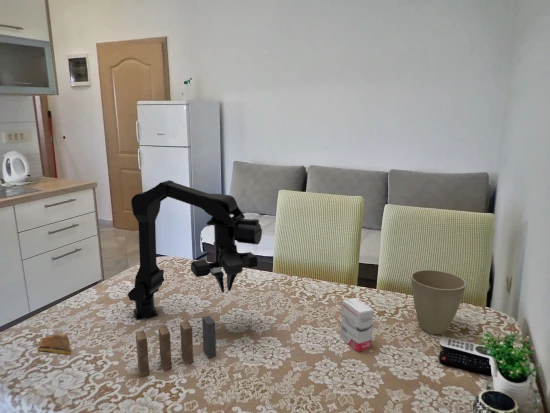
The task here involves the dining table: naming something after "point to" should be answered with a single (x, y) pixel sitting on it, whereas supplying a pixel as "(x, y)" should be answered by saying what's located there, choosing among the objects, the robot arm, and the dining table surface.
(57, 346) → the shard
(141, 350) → the domino
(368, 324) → the ink box
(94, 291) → the dining table surface
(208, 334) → the dark gray rectangular block
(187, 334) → the domino
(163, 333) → the domino
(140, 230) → the robot arm
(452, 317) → the plant pot
